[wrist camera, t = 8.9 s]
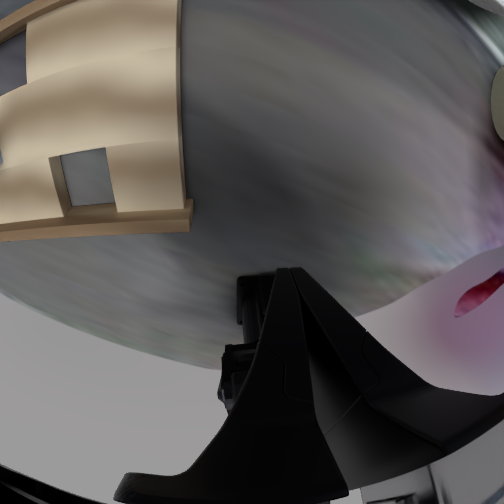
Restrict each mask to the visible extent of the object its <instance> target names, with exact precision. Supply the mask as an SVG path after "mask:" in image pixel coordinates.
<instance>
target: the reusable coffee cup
mask: <svg viewBox="0 0 504 504" xmlns="http://www.w3.org/2000/svg"><path fill="white" fill-rule="evenodd" d="M491 114H492V120H493V123H494V127H495V129H496V131H497V133H498V135H499V136H500V138H501V139H502V140H504V66H502V67H501V68H500V69H499V70H498V71H497V73H496V75H495V77H494V80H493V84H492V89H491Z"/></svg>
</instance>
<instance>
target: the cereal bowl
mask: <svg viewBox="0 0 504 504" xmlns="http://www.w3.org/2000/svg"><path fill="white" fill-rule="evenodd" d="M468 1H470V2H472V3H474V4H475V5H477V6H479V7H481V8H483V9H485V10H488V11H490V12H492V13H495V14H498V15H501V16H504V0H468Z"/></svg>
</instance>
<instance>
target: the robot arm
mask: <svg viewBox="0 0 504 504" xmlns="http://www.w3.org/2000/svg"><path fill="white" fill-rule="evenodd" d="M241 282H244V283H241ZM237 324H239V325H243V335H244V344H237V345H232V344H228V345H225V353H223V357H222V375H221V379H220V384H219V388H218V392H217V393H218V399H219V400H221V401H222V402H223V403H224V405H225V408H226V409H227V412H228V417H227V419H226V420H225V422H224V424H223V426H222V427H221V429H220V430H219V432H218V433H217V435H216V436H215V437H214V438H213V439H212V441H211V442H210V444H209V445H208V446H207V447H206V448H205V450H204V451H203V452H202V453H201V455H200V456H199V457H198V458H197V460H196V461H195V462H194V463H193V465H192V466H191V467H190V468H189V469H188V470H187V471H185V472H183V473H181V474H178V475H174V476H162V475H154V474H145V473H131V472H130V473H126V474H125V475H124V477H123V479H122V481H121V483H120V485H119V486H118V488H117V490H116V492H115V494H114V498H113V499H114V500H115V501H118V502H121V503H125V504H330V501H331V500H335V499H339V498H343V497H346V496H348V495H349V490H353V489H357V488H360V490H361V495H362V500H363V504H504V393H502V394H500V395H494V396H488V395H479V394H472V393H466V392H460V391H454V390H448V389H443V388H438V387H435V386H433V385H431V384H429V383H427V382H426V381H424V380H423V379H422V378H421V377H419V376H418V375H417V374H416V373H414V372H413V371H412V370H411V369H410V368H408V367H407V366H406V365H405V364H403V363H402V362H401V361H400V360H398V359H397V358H396V357H395V356H394V355H393V354H391V353H390V352H389V351H388V350H387V349H386V348H384V347H383V346H382V345H381V344H380V343H379V342H378V341H377V340H376V339H375V338H374V337H373V336H372V335H371V334H370V333H369V332H368V331H367V332H366V329H365V328H364V327H363V326H362V325H361V324H360V323H359V322H358V321H357V320H356V319H355V318H354V317H353V316H352V315H351V314H350V313H349V312H347V311H346V310H345V309H344V308H343V307H342V306H341V305H340V304H339V303H338V302H337V301H336V300H335V299H334V298H333V297H332V296H331V295H330V294H329V293H328V292H327V291H326V290H325V289H324V288H323V287H322V286H321V285H320V284H319V283H318V282H317V281H315V280H314V279H313V278H312V277H311V276H310V275H309V274H308V273H307V272H306V271H305V270H304V269H303V268H301V267H295V268H290V269H289V268H278V269H277V270H276V274H275V276H258V277H240V278H238V279H237ZM0 504H106V503H102V502H99V501H95V500H92V499H88V498H85V497H82V496H79V495H76V494H72V493H70V492H67V491H64V490H62V489H59V488H56V487H54V486H51V485H49V484H46V483H44V482H41V481H39V480H36V479H34V478H31V477H29V476H27V475H24V474H22V473H20V472H17V471H15V470H13V469H10V468H8V467H6V466H4V465H1V464H0Z"/></svg>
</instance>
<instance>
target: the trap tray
mask: <svg viewBox="0 0 504 504" xmlns="http://www.w3.org/2000/svg"><path fill="white" fill-rule="evenodd" d="M181 3H182V0H35V1H33V2H31V3H29V4H27V5H26V6H24V7H22V8H20V9H18V10H17V11H15V12H13V13H12V14H10V15H8V16H7V17H5V18H4V19H2V20H0V44H1V43H3V42H4V41H6V40H8V39H10V38H11V37H13V36H15V35H17V34H19V33H20V32H22V31H24V30H26V29H27V31H26V70H27V84H26V85H24V86H21V87H19V88H17V89H15V90H12V91H10V92H8V93H6V94H4V95H2V96H0V150H1V155H2V159H3V163H1V164H0V242H2V241H15V240H30V239H45V238H62V237H79V236H99V235H120V234H144V233H172V232H190V229H191V224H192V218H193V213H194V204H193V198H189V199H186V188H185V175H184V160H183V144H182V123H181V92H180V32H181ZM103 147H106V154H107V160H108V166H109V172H110V177H111V183H112V188H113V193H114V198H115V202H116V203H107V204H95V205H85V206H75V207H72V206H71V202H70V198H69V195H68V191H67V187H66V183H65V179H64V174H63V170H62V165H61V161H60V156H59V155H63V154H68V153H73V152H79V151H84V150H90V149H96V148H103Z"/></svg>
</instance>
